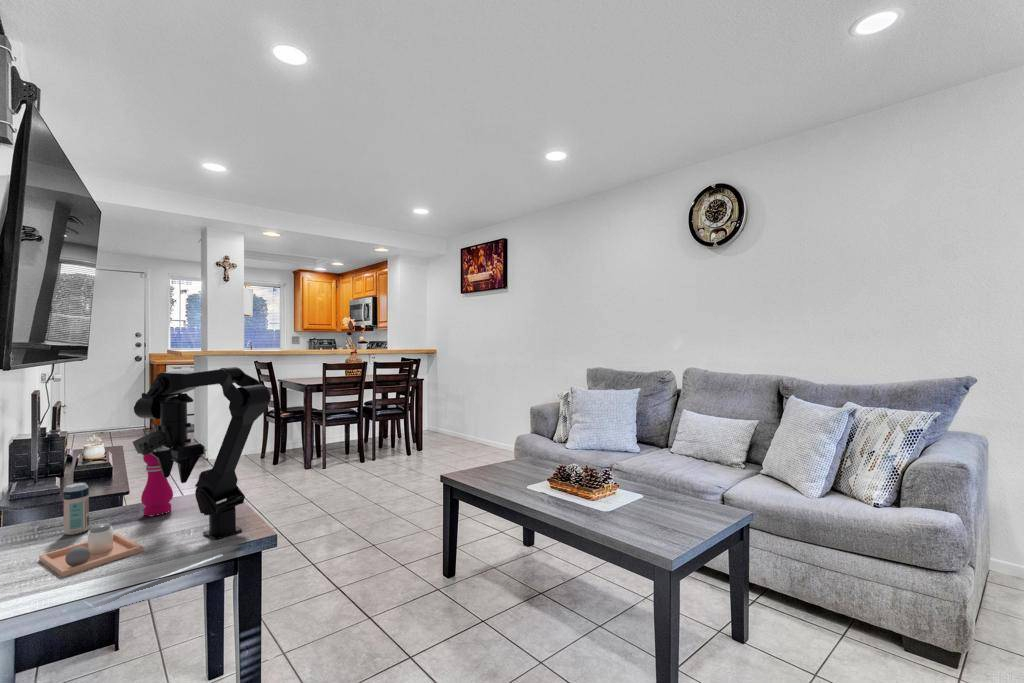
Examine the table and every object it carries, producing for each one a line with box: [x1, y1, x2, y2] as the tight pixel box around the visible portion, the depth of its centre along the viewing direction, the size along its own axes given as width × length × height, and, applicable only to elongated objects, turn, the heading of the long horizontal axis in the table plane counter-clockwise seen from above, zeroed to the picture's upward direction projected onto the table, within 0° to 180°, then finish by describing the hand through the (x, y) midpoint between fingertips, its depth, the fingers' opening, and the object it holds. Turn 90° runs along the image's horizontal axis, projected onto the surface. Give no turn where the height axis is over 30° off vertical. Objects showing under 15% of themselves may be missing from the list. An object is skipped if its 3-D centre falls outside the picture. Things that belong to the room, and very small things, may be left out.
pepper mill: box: [140, 454, 174, 517], centre depth 136 cm, size 7×7×20 cm
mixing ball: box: [65, 546, 90, 567], centre depth 104 cm, size 4×4×4 cm
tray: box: [38, 532, 144, 578], centre depth 109 cm, size 14×14×2 cm
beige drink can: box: [62, 482, 90, 536], centre depth 123 cm, size 5×5×12 cm
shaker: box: [87, 522, 114, 555], centre depth 112 cm, size 4×4×6 cm
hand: (174, 479), depth 127 cm, fingers open, 9 cm apart
